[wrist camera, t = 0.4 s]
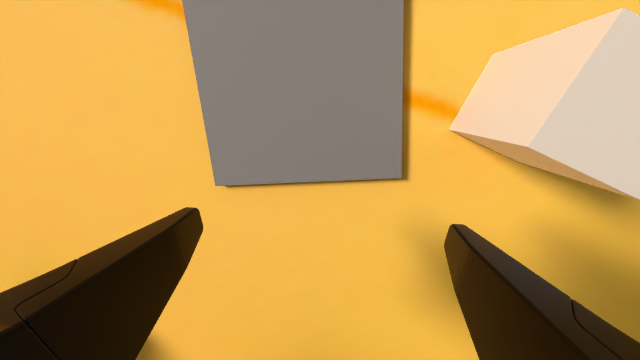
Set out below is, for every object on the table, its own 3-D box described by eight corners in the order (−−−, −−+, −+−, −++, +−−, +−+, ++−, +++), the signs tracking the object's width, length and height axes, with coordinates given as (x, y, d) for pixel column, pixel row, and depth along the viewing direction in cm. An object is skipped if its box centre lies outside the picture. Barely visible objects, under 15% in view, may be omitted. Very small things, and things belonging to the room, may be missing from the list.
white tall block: (515, 160, 21) (643, 201, 12) (448, 129, 21) (527, 147, 12) (564, 88, 20) (756, 73, 10) (492, 53, 19) (623, 7, 10)
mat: (399, 175, 22) (401, 178, 22) (219, 183, 24) (215, 186, 23) (402, -49, 18) (404, -56, 18) (183, -21, 20) (177, -26, 19)
